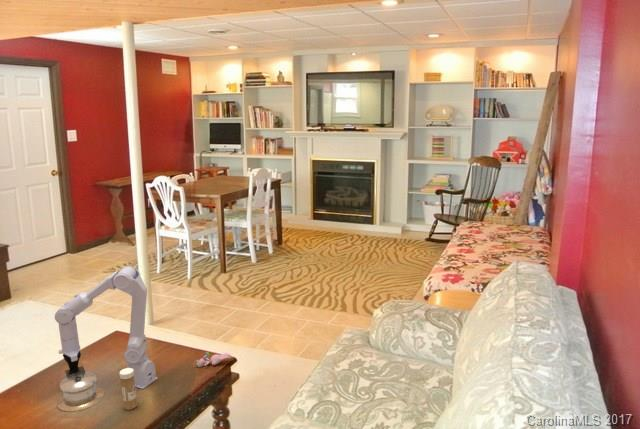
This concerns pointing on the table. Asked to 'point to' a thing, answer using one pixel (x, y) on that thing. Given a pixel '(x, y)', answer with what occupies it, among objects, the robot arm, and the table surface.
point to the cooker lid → (77, 380)
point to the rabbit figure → (214, 359)
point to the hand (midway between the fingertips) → (74, 371)
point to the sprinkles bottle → (128, 388)
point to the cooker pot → (80, 399)
